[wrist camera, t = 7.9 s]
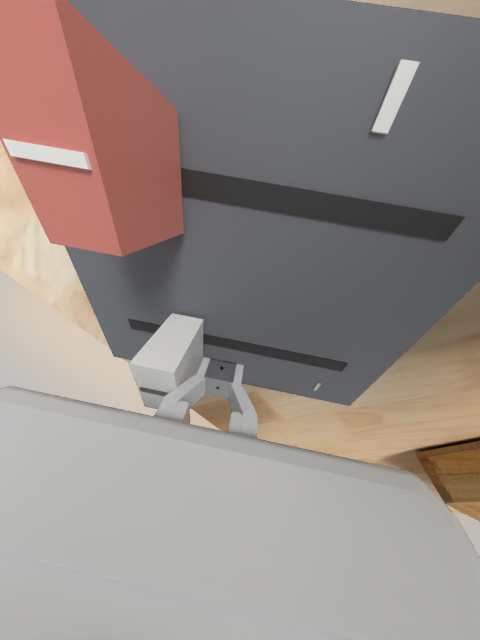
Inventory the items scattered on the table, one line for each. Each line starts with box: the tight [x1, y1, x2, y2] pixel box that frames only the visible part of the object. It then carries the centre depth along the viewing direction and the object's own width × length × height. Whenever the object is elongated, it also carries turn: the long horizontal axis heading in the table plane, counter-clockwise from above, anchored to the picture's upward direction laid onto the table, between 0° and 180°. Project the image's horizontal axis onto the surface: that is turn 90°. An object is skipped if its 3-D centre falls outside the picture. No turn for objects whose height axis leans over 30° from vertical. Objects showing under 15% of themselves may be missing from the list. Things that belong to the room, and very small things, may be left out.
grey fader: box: [129, 313, 204, 409], centre depth 12 cm, size 2×4×5 cm, turn 172°
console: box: [65, 0, 480, 406], centre depth 12 cm, size 24×20×2 cm
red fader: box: [0, 0, 184, 257], centre depth 6 cm, size 2×4×5 cm, turn 172°
